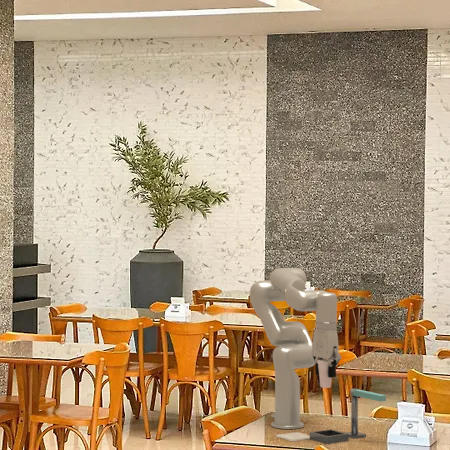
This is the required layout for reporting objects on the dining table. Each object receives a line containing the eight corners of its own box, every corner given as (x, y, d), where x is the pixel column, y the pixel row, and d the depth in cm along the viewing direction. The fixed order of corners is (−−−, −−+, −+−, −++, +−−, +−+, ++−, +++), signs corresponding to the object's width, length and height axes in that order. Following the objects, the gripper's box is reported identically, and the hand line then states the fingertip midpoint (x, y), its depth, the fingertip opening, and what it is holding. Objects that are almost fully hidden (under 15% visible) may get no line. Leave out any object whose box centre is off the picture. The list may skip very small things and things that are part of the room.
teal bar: (348, 394, 371) (348, 389, 371) (355, 393, 372) (355, 388, 372) (380, 401, 356) (380, 396, 356) (386, 400, 357) (386, 395, 357)
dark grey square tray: (309, 439, 365) (309, 432, 365) (331, 435, 371) (331, 429, 371) (326, 444, 357) (326, 437, 357) (348, 440, 362) (348, 433, 362)
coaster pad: (275, 436, 369) (275, 435, 369) (297, 433, 375) (297, 432, 375) (291, 441, 361) (291, 439, 361) (313, 438, 366) (313, 436, 366)
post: (342, 435, 371) (343, 395, 371) (355, 433, 374) (355, 393, 374) (353, 438, 366) (353, 397, 366) (366, 436, 369) (366, 396, 369)
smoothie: (315, 385, 367) (315, 347, 367) (332, 385, 368) (333, 347, 368) (318, 388, 361) (319, 349, 361) (336, 388, 362) (336, 349, 361)
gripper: (303, 324, 369) (302, 373, 369) (333, 329, 355) (333, 380, 355) (319, 323, 373) (318, 371, 374) (349, 328, 359) (349, 378, 359)
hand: (325, 375), depth 364 cm, fingers closed on smoothie, 6 cm apart
